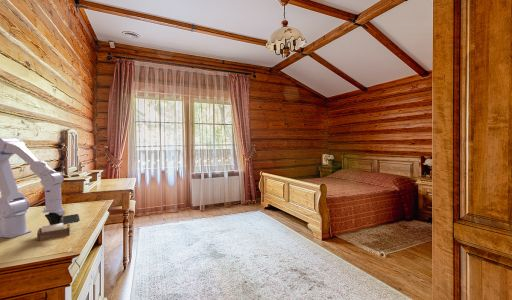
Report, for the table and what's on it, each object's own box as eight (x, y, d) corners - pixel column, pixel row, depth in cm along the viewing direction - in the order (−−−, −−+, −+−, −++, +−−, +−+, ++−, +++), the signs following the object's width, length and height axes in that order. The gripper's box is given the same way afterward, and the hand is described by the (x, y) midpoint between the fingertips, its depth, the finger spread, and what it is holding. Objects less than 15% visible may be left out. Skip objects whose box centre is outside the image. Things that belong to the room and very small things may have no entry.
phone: (60, 223, 122) (60, 216, 134) (60, 225, 122) (60, 218, 134) (79, 219, 127) (78, 213, 139) (79, 222, 127) (78, 215, 139)
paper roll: (42, 224, 105) (43, 230, 108) (41, 234, 102) (42, 240, 105) (63, 220, 109) (63, 226, 112) (63, 230, 106) (63, 236, 109)
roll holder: (39, 235, 107) (39, 228, 107) (69, 230, 114) (69, 222, 113) (37, 241, 101) (37, 232, 101) (69, 234, 108) (68, 227, 108)
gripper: (35, 199, 110) (36, 229, 110) (50, 202, 103) (52, 234, 104) (53, 196, 116) (55, 224, 117) (69, 199, 109) (71, 228, 110)
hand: (55, 228), depth 110 cm, fingers closed
